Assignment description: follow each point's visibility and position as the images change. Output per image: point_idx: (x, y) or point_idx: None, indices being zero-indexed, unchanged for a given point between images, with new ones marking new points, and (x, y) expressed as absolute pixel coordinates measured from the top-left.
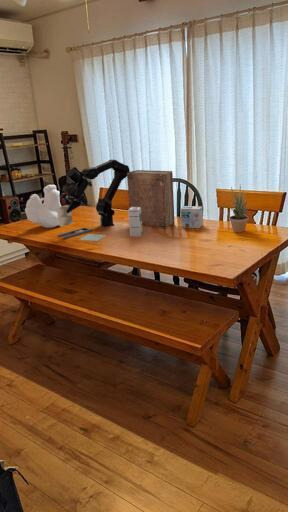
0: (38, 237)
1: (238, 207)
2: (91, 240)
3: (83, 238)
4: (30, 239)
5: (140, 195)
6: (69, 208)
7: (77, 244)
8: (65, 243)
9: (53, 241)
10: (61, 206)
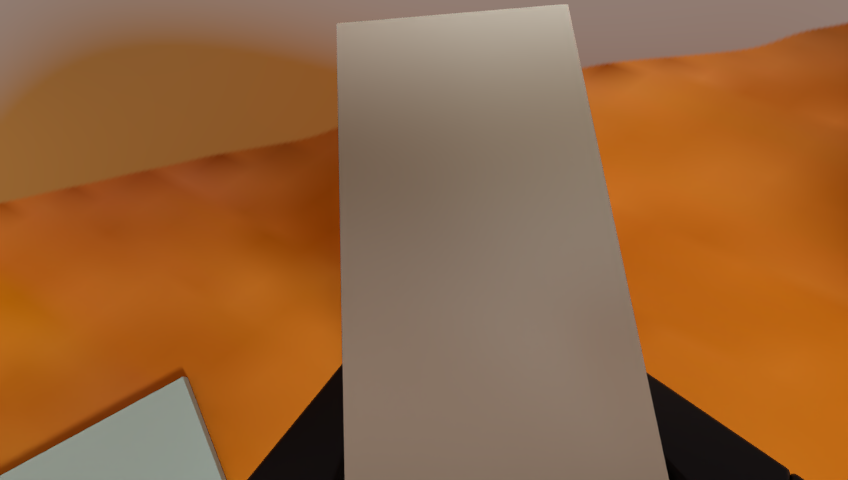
0: (693, 136)
1: None
2: (7, 476)
3: (172, 456)
4: (674, 57)
5: None
6: (272, 463)
7: (79, 290)
8: (228, 224)
9: None
10: (541, 193)
